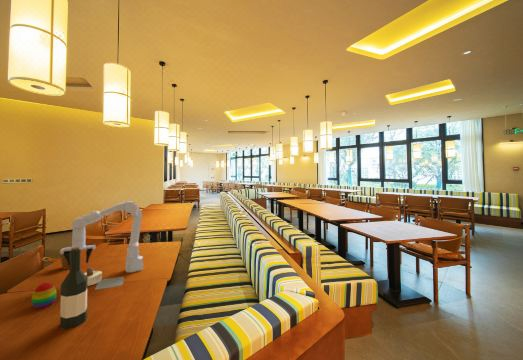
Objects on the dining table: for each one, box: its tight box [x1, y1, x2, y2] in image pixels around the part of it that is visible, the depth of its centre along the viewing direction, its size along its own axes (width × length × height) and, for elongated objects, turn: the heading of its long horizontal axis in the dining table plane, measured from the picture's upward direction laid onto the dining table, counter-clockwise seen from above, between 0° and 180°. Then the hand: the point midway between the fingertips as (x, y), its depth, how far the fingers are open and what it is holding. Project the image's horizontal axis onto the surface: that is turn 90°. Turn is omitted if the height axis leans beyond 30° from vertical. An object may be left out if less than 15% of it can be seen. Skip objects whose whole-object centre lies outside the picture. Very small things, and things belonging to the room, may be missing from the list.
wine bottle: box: [59, 247, 88, 330], centre depth 89 cm, size 8×8×30 cm
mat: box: [94, 275, 125, 291], centre depth 121 cm, size 12×12×1 cm
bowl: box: [87, 276, 103, 287], centre depth 122 cm, size 10×10×4 cm
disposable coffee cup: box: [58, 246, 70, 270], centre depth 142 cm, size 10×10×12 cm
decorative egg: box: [31, 282, 58, 309], centre depth 101 cm, size 8×8×10 cm
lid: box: [83, 267, 103, 281], centre depth 121 cm, size 11×11×4 cm
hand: (78, 263), depth 123 cm, fingers open, 7 cm apart
